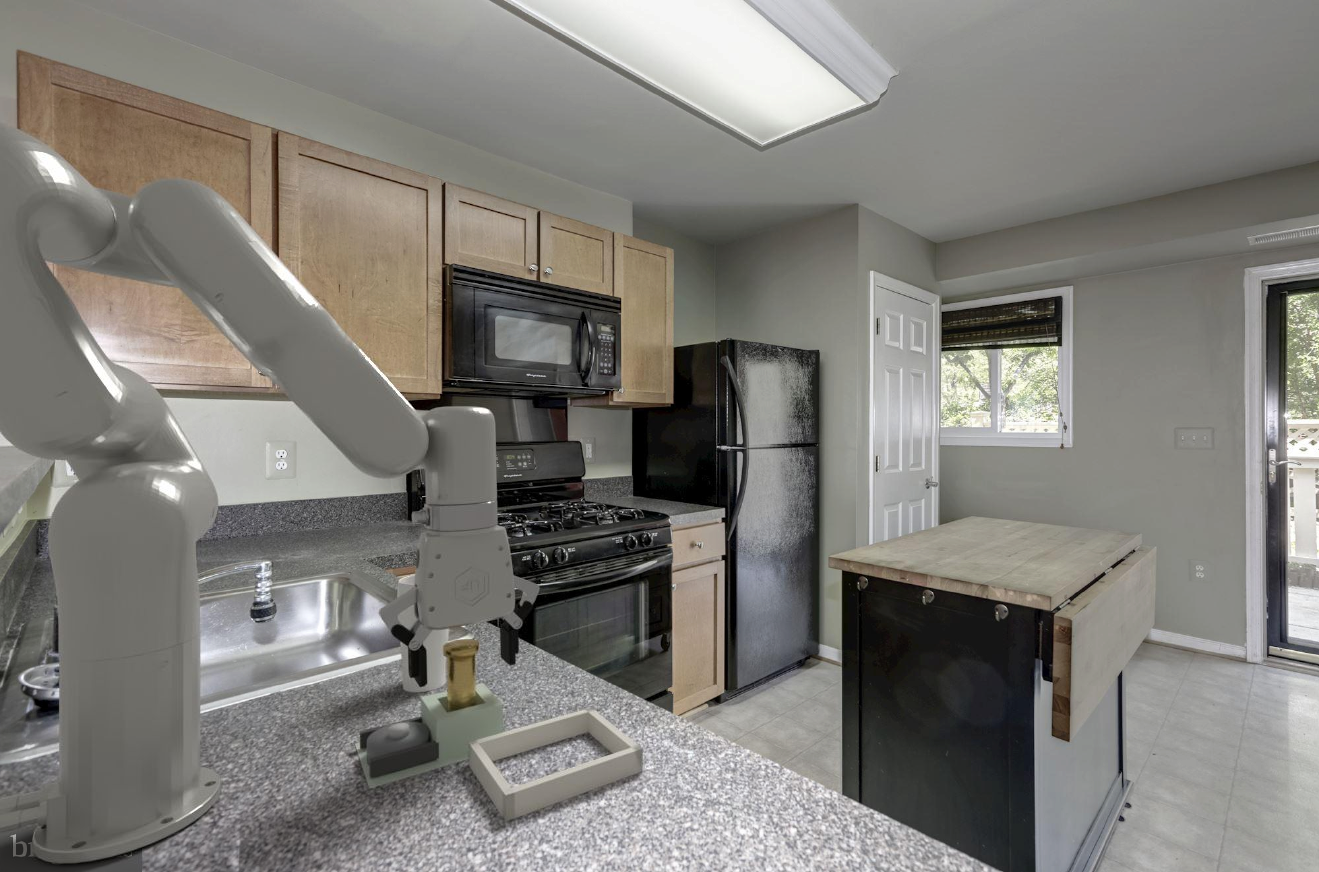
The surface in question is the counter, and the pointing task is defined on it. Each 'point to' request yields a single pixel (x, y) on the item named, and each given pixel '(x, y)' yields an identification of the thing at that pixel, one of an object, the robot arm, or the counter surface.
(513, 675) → the counter surface
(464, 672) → the pin
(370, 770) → the green socket holder
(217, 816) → the counter surface
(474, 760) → the tray
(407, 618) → the drinking glass
